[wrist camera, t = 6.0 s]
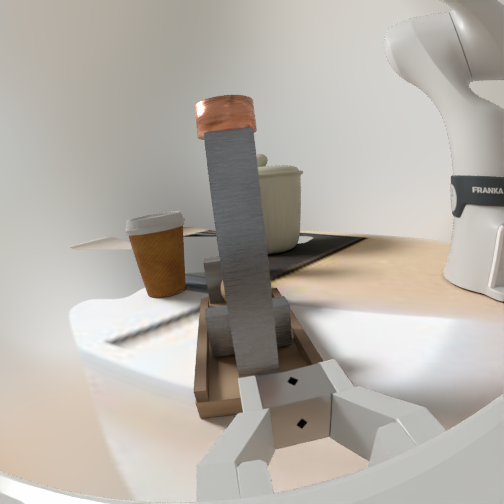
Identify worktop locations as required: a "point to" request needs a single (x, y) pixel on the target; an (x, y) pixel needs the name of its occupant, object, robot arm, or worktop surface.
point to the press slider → (240, 241)
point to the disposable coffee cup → (159, 251)
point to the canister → (280, 204)
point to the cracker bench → (225, 367)
